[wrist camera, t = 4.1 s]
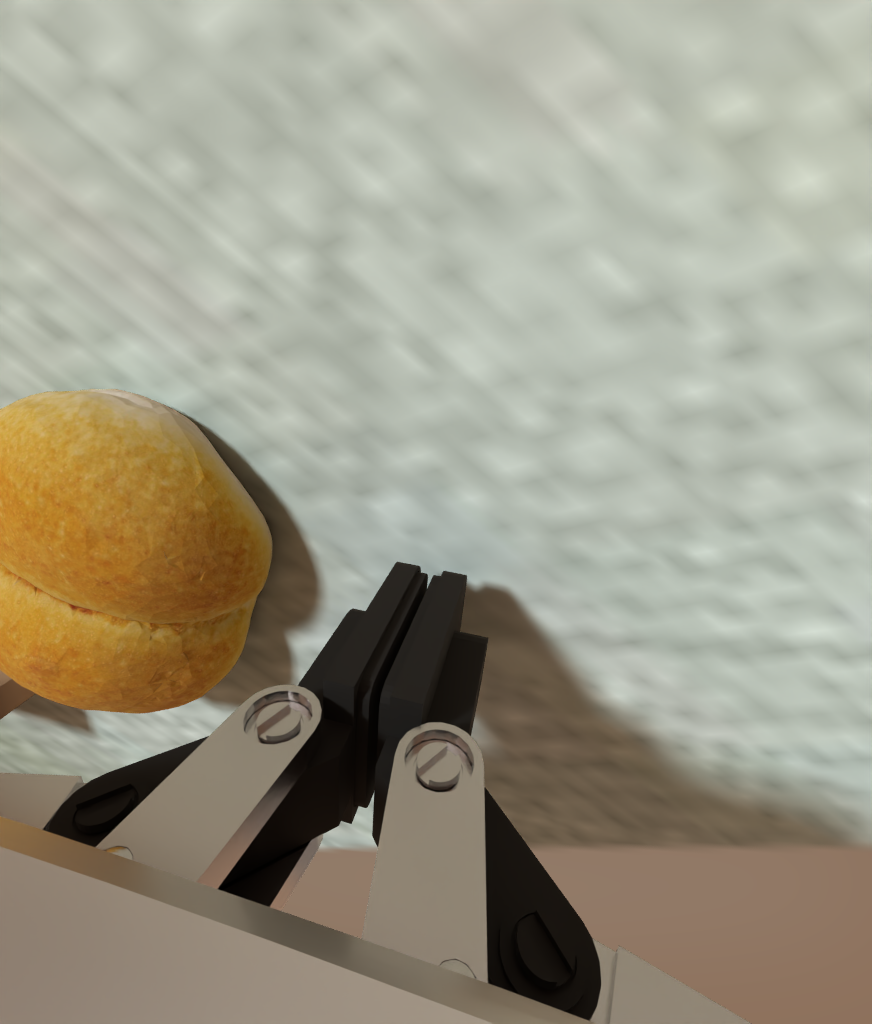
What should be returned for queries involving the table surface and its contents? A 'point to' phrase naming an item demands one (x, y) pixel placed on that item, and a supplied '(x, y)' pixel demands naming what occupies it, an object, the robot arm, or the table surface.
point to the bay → (11, 694)
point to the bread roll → (121, 553)
